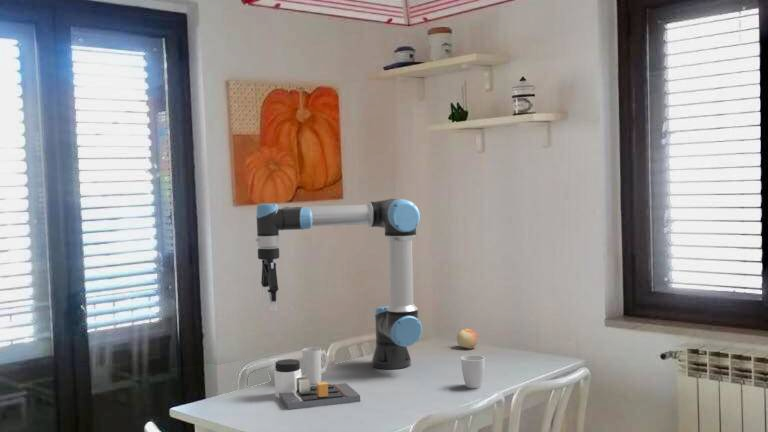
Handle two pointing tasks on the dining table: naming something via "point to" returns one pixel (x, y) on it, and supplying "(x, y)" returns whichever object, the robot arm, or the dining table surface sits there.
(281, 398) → the panel
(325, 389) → the handle
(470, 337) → the apple
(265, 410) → the dining table surface
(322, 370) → the mug
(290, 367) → the jar
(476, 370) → the cup
